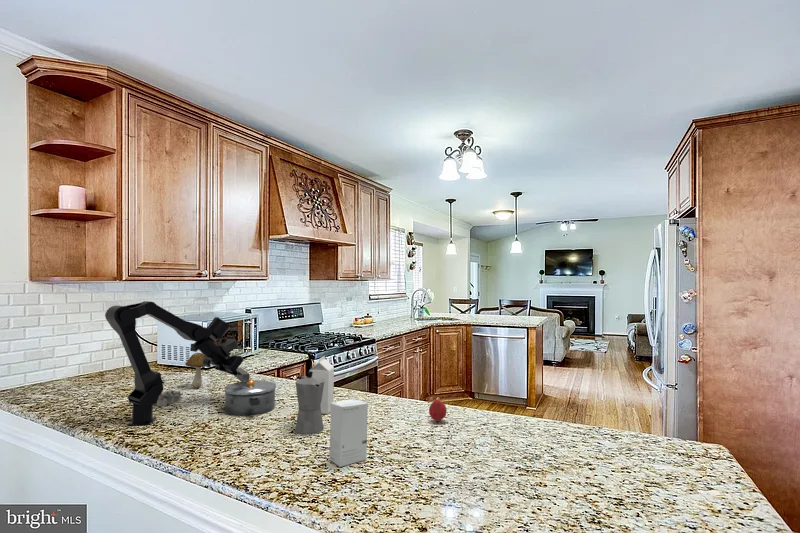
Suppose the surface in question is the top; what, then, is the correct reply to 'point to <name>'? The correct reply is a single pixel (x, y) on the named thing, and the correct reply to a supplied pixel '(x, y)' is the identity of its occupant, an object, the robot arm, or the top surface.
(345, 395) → the top surface
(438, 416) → the onion
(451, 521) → the top surface
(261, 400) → the cooking pot
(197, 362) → the mushroom
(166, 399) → the egg carton
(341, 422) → the skincare box
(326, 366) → the milk carton
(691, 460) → the top surface
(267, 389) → the pot lid
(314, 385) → the coffeepot
